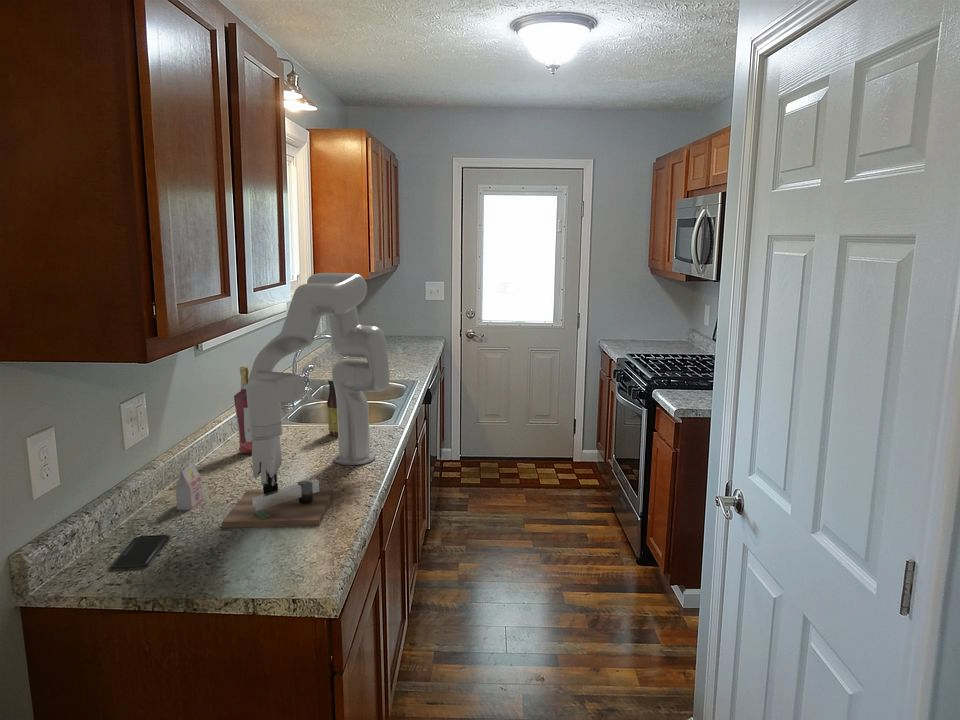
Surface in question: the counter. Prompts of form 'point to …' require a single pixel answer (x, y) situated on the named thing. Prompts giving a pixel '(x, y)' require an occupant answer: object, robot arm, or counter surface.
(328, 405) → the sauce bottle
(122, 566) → the phone
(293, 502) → the dial board
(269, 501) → the dial pointer
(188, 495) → the pink white carton
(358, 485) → the counter surface
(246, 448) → the liquor
